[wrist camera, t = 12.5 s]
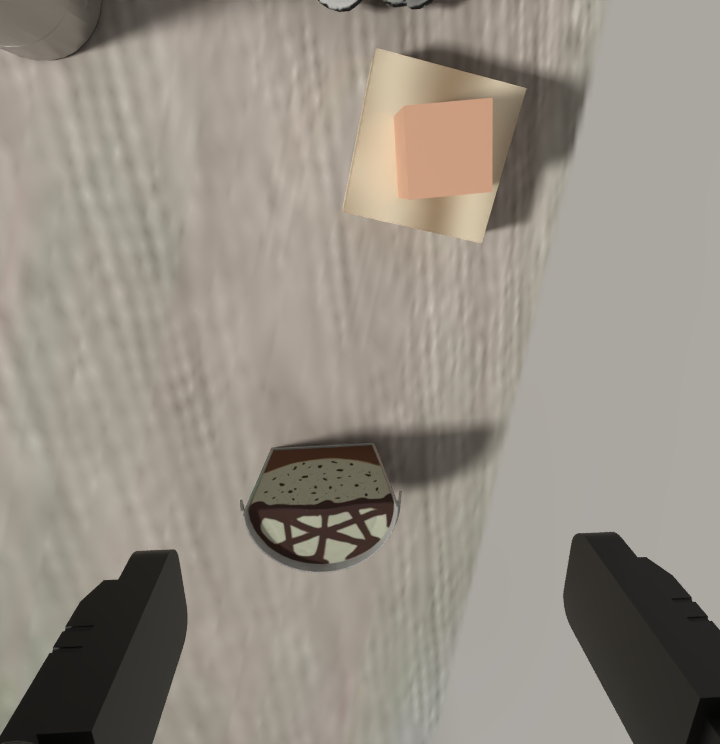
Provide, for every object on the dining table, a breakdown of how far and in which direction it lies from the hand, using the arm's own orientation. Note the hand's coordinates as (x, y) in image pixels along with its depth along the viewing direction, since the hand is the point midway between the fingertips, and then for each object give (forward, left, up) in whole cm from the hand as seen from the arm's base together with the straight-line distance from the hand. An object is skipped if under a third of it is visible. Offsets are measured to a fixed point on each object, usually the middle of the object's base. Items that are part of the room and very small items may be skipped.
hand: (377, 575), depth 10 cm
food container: (-2, -18, -33) cm, 38 cm away
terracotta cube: (+6, +9, -28) cm, 31 cm away
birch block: (+6, +9, -34) cm, 35 cm away
